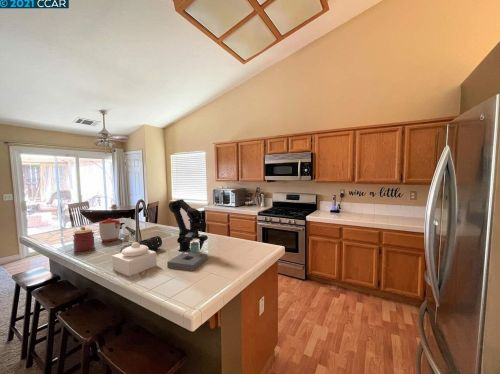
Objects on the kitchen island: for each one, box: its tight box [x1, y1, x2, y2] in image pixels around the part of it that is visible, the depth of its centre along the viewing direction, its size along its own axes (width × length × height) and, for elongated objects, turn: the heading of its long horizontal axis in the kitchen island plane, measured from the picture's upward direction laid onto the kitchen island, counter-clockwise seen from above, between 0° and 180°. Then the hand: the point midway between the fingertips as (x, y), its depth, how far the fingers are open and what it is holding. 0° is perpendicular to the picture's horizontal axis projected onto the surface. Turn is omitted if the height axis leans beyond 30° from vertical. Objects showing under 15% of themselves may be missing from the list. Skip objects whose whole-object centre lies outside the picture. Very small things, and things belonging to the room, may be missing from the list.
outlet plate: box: [166, 251, 209, 272], centre depth 140 cm, size 18×18×4 cm
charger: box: [190, 241, 200, 253], centre depth 157 cm, size 4×4×8 cm
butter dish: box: [111, 241, 158, 277], centre depth 134 cm, size 18×18×16 cm
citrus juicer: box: [98, 217, 122, 243], centre depth 192 cm, size 16×17×20 cm
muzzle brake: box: [119, 235, 163, 253], centre depth 157 cm, size 10×28×10 cm, turn 155°
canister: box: [72, 226, 95, 253], centre depth 169 cm, size 13×13×18 cm
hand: (194, 249), depth 157 cm, fingers open, 9 cm apart
